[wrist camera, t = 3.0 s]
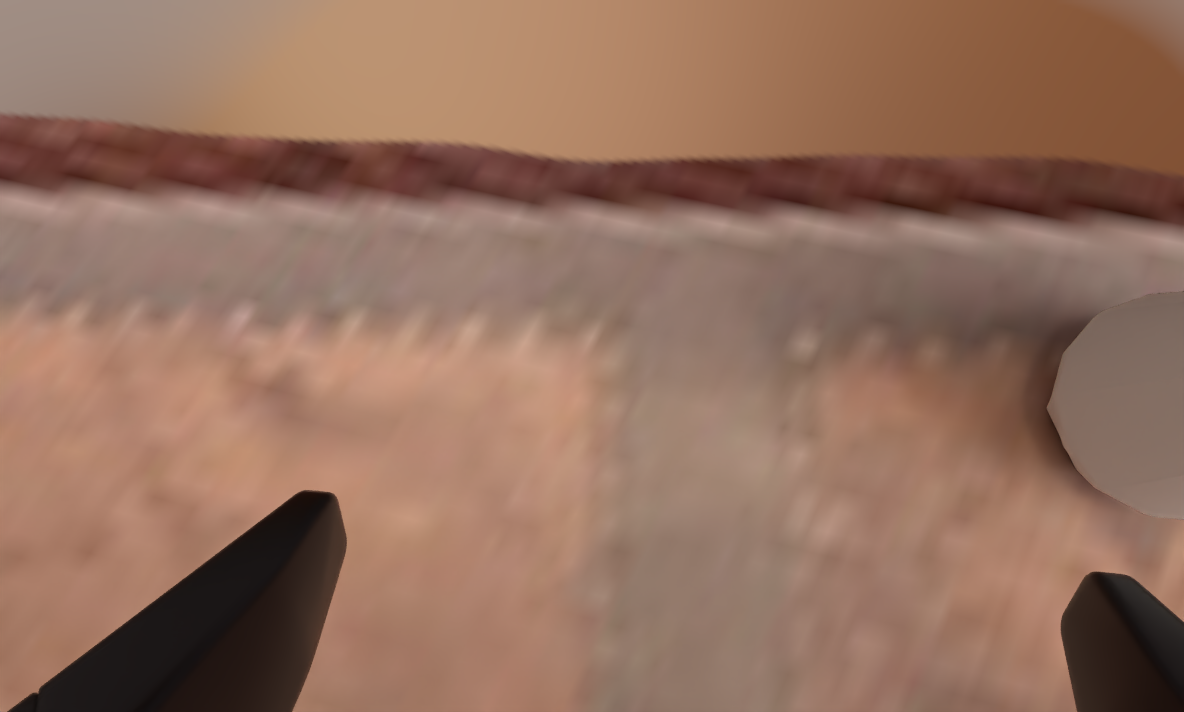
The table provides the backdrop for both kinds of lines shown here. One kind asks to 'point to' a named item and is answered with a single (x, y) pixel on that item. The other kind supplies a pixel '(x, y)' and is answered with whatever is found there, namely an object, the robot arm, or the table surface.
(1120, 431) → the salt shaker
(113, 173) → the table surface
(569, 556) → the table surface
